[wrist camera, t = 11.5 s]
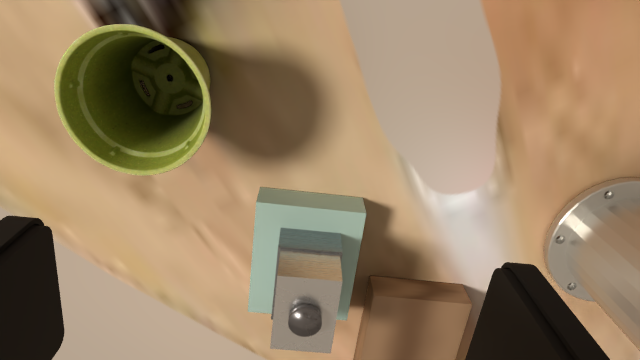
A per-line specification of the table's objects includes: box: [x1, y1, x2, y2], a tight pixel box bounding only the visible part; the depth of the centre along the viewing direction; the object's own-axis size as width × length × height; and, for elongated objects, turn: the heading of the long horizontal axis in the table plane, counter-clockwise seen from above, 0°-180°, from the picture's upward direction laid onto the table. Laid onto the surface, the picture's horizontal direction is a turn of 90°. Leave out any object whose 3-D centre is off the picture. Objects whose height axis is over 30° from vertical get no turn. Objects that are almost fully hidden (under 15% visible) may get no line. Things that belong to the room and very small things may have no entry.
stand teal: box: [248, 187, 366, 320], centre depth 41 cm, size 9×11×3 cm
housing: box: [270, 228, 343, 353], centre depth 36 cm, size 5×7×7 cm
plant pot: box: [54, 24, 212, 175], centre depth 32 cm, size 9×9×9 cm
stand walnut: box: [353, 276, 472, 360], centre depth 45 cm, size 9×11×3 cm
